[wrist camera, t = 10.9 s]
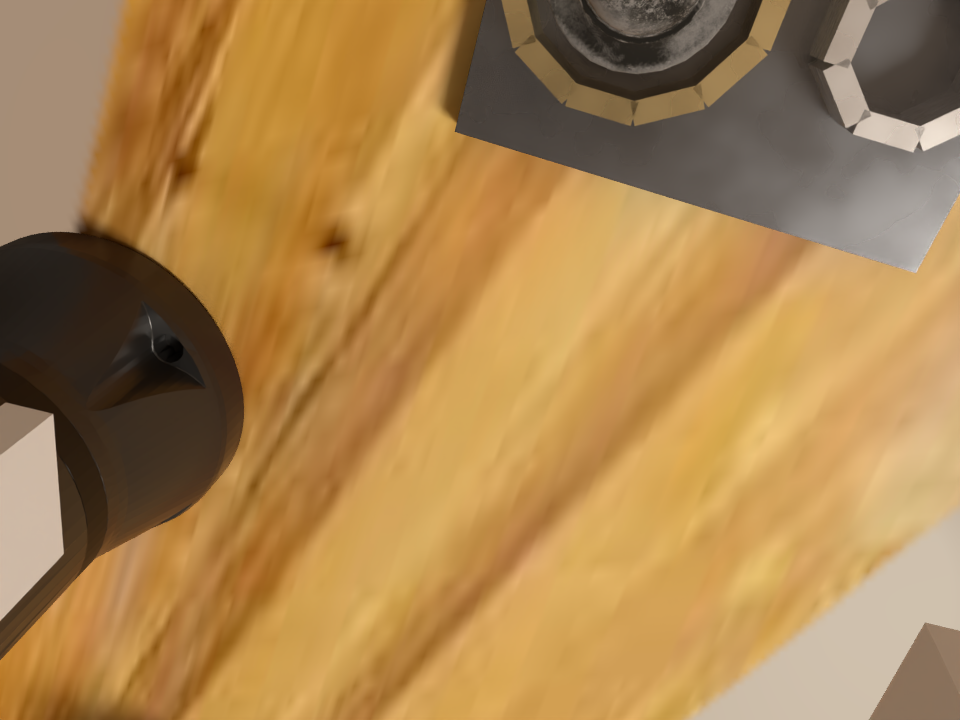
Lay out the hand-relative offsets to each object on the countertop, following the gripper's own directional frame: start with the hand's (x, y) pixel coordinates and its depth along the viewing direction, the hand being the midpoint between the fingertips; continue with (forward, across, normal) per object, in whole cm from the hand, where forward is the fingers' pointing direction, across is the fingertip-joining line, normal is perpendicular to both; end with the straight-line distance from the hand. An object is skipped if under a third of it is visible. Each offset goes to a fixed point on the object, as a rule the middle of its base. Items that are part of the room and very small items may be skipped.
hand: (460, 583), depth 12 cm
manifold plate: (+22, +5, +8) cm, 25 cm away
